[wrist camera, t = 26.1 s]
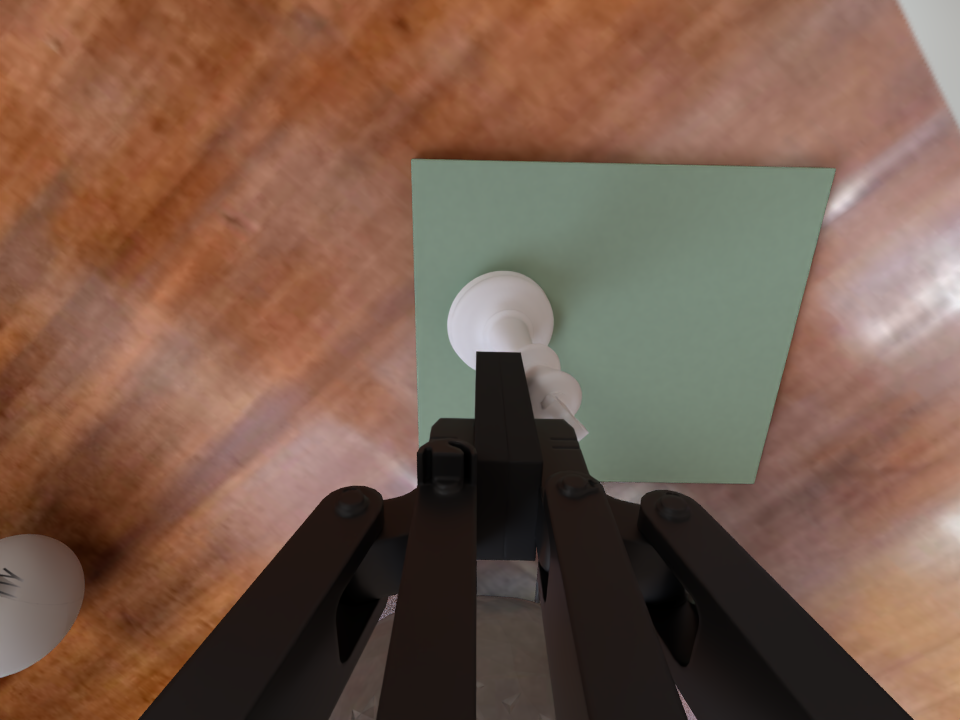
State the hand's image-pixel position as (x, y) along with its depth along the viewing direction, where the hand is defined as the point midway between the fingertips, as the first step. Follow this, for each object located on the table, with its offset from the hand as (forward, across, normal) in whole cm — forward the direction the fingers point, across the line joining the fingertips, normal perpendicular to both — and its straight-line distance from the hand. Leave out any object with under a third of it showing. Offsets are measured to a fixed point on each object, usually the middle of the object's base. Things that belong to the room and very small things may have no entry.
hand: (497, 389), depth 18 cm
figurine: (+8, -24, -15) cm, 30 cm away
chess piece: (+7, 0, 0) cm, 7 cm away
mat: (+8, +5, -1) cm, 10 cm away
